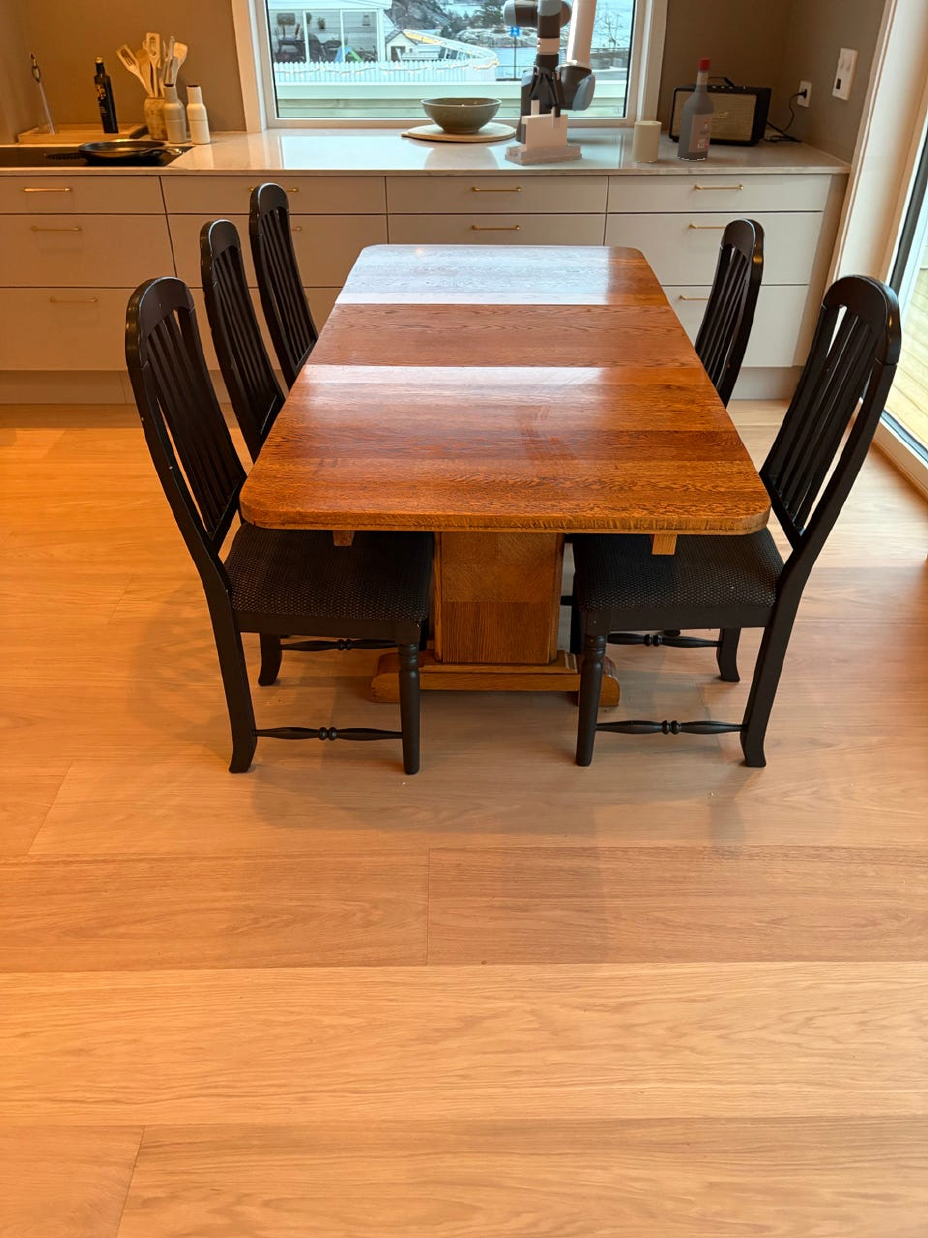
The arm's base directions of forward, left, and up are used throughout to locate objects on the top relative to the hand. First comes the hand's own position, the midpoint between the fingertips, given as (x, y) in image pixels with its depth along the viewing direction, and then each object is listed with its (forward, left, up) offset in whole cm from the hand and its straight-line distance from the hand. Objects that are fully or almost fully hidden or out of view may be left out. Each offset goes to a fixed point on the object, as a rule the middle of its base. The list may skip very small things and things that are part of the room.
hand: (545, 124), depth 322 cm
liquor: (-46, +24, -11) cm, 53 cm away
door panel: (0, 0, -9) cm, 9 cm away
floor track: (0, 0, -11) cm, 11 cm away
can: (-30, +18, -11) cm, 37 cm away
